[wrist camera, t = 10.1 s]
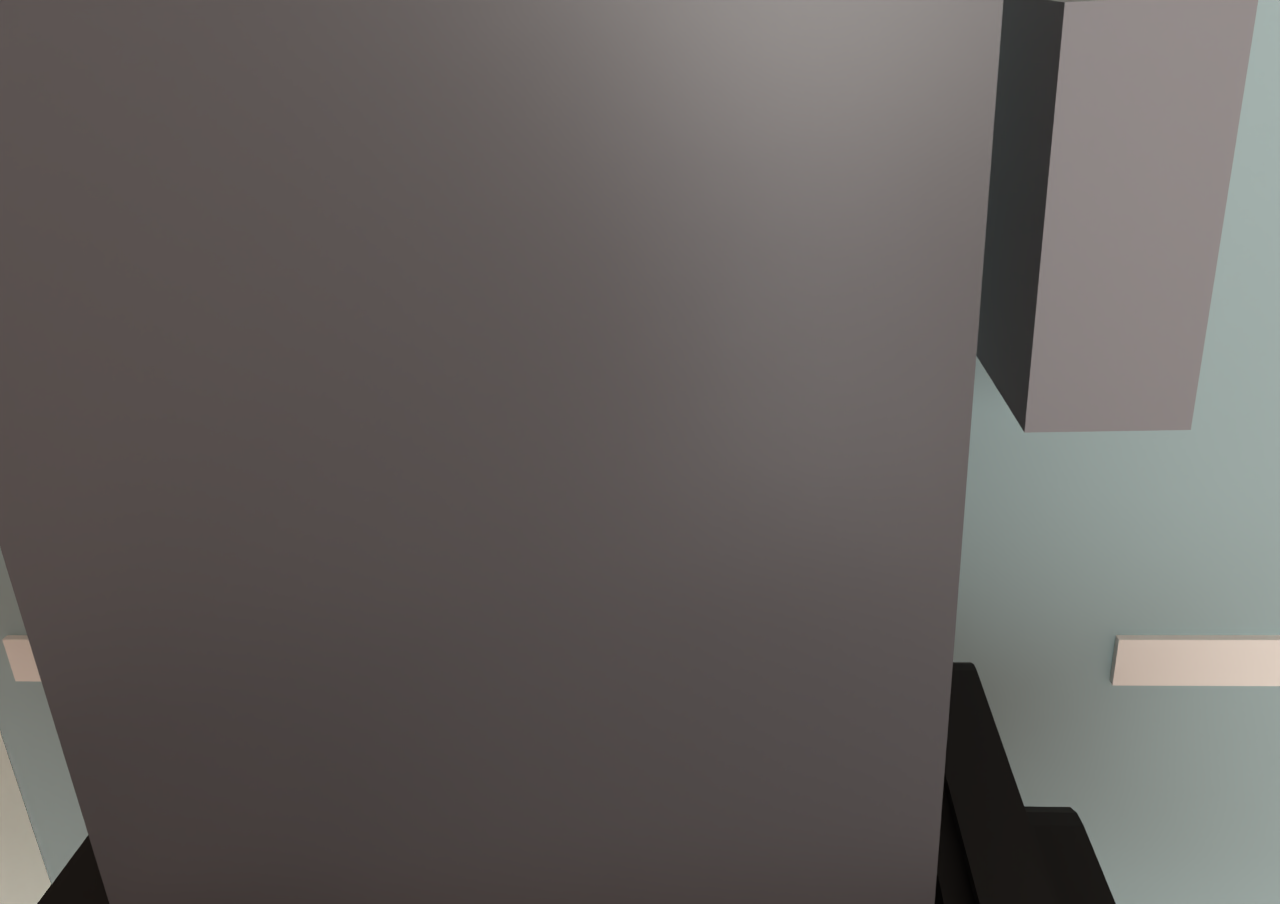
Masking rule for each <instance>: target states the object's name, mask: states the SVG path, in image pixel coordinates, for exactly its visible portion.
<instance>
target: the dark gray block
mask: <svg viewBox="0 0 1280 904" xmlns="http://www.w3.org/2000/svg"><path fill="white" fill-rule="evenodd" d="M1002 13H1003V0H0V548H1V551H2V555H3V558H4V561H5V564H6V568H7V571H8V574H9V578H10V581H11V584H12V587H13V591H14V594H15V597H16V600H17V604H18V607H19V610H20V613H21V617H22V620H23V623H24V626H25V630H26V633H27V636H28V640H29V643H30V646H31V649H32V653H33V656H34V659H35V662H36V666H37V669H38V672H39V675H40V679H41V682H42V685H43V688H44V692H45V695H46V698H47V702H48V705H49V708H50V711H51V715H52V718H53V721H54V724H55V728H56V731H57V734H58V737H59V741H60V744H61V747H62V750H63V754H64V757H65V760H66V764H67V767H68V770H69V773H70V777H71V780H72V783H73V786H74V790H75V793H76V796H77V799H78V803H79V806H80V809H81V812H82V816H83V819H84V822H85V826H86V829H87V832H88V835H89V839H90V842H91V845H92V848H93V852H94V855H95V858H96V861H97V865H98V868H99V871H100V874H101V878H102V881H103V884H104V888H105V891H106V894H107V897H108V901H109V904H935V891H936V878H937V865H938V852H939V838H940V825H941V812H942V799H943V786H944V773H945V760H946V747H947V734H948V720H949V707H950V694H951V681H952V668H953V655H954V642H955V629H956V616H957V602H958V589H959V576H960V563H961V550H962V537H963V524H964V511H965V498H966V484H967V471H968V458H969V445H970V432H971V419H972V406H973V393H974V380H975V367H976V353H977V340H978V327H979V314H980V301H981V288H982V275H983V262H984V249H985V235H986V222H987V209H988V196H989V183H990V170H991V157H992V144H993V131H994V117H995V104H996V91H997V78H998V65H999V52H1000V39H1001V26H1002Z"/></svg>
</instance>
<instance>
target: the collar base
mask: <svg viewBox="0 0 1280 904" xmlns="http://www.w3.org/2000/svg"><path fill="white" fill-rule="evenodd" d="M953 662H971V663H973V664H974V665H975V667H976V670H977V672H978V675H979V678H980V681H981V684H982V686H983V689H984V692H985V695H986V698H987V701H988V704H989V707H990V709H991V712H992V715H993V718H994V721H995V724H996V727H997V729H998V732H999V735H1000V738H1001V741H1002V744H1003V747H1004V750H1005V752H1006V755H1007V758H1008V761H1009V764H1010V767H1011V770H1012V773H1013V775H1014V778H1015V781H1016V784H1017V787H1018V790H1019V793H1020V795H1021V798H1022V801H1023V804H1024V806H1035V807H1071V808H1072V809H1073V810H1074V811H1076V812H1077V814H1078V816H1079V817H1080V819H1081V821H1082V823H1083V825H1084V827H1085V830H1086V832H1087V835H1088V837H1089V840H1090V842H1091V844H1092V847H1093V849H1094V852H1095V854H1096V857H1097V859H1098V861H1099V864H1100V866H1101V869H1102V871H1103V874H1104V876H1105V879H1106V881H1107V883H1108V886H1109V888H1110V891H1111V893H1112V896H1113V898H1114V901H1115V903H1116V904H1280V0H1003V13H1002V26H1001V39H1000V52H999V65H998V78H997V91H996V104H995V117H994V131H993V144H992V157H991V170H990V183H989V196H988V209H987V222H986V235H985V249H984V262H983V275H982V288H981V301H980V314H979V327H978V340H977V353H976V367H975V380H974V393H973V406H972V419H971V432H970V445H969V458H968V471H967V484H966V498H965V511H964V524H963V537H962V550H961V563H960V576H959V589H958V602H957V616H956V629H955V642H954V655H953ZM0 732H1V735H2V738H3V741H4V744H5V747H6V750H7V753H8V756H9V759H10V762H11V765H12V768H13V771H14V774H15V777H16V780H17V783H18V786H19V789H20V792H21V795H22V798H23V801H24V804H25V807H26V810H27V813H28V816H29V819H30V822H31V825H32V828H33V831H34V834H35V837H36V840H37V843H38V846H39V849H40V852H41V855H42V858H43V861H44V864H45V867H46V870H47V873H48V876H49V879H50V882H51V885H52V883H53V882H54V881H55V879H56V878H57V877H58V875H59V874H60V872H61V871H62V870H63V868H64V867H65V866H66V864H67V863H68V862H69V860H70V859H71V858H72V856H73V855H74V853H75V852H76V851H77V849H78V848H79V847H80V845H81V844H82V843H83V841H84V840H85V839H86V837H87V836H88V832H87V829H86V826H85V822H84V819H83V816H82V812H81V809H80V806H79V803H78V799H77V796H76V793H75V790H74V786H73V783H72V780H71V777H70V773H69V770H68V767H67V764H66V760H65V757H64V754H63V750H62V747H61V744H60V741H59V737H58V734H57V731H56V728H55V724H54V721H53V718H52V715H51V711H50V708H49V705H48V702H47V698H46V695H45V692H44V688H43V685H42V682H41V679H40V675H39V672H38V669H37V666H36V662H35V659H34V656H33V653H32V649H31V646H30V643H29V640H28V636H27V633H26V630H25V626H24V623H23V620H22V617H21V613H20V610H19V607H18V604H17V600H16V597H15V594H14V591H13V587H12V584H11V581H10V578H9V574H8V571H7V568H6V564H5V561H4V558H3V555H2V551H1V548H0Z"/></svg>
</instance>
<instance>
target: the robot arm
mask: <svg viewBox="0 0 1280 904" xmlns="http://www.w3.org/2000/svg"><path fill="white" fill-rule="evenodd" d="M38 904H109V901H108V897H107V894H106V891H105V888H104V884H103V881H102V878H101V874H100V871H99V868H98V865H97V861H96V858H95V855H94V852H93V848H92V845H91V842H90V839H89V835H88V836H87V837H86V839H85V840H84V841H83V843H82V844H81V845H80V847H79V848H78V849H77V851H76V852H75V853H74V855H73V856H72V858H71V859H70V860H69V862H68V863H67V864H66V866H65V867H64V868H63V870H62V871H61V872H60V874H59V875H58V877H57V878H56V879H55V881H54V882H53V883H52V885H51V886H50V887H49V889H48V890H47V891H46V893H45V894H44V895H43V897H42V898H41V900H40V901H39V902H38ZM935 904H1116V903H1115V901H1114V898H1113V896H1112V893H1111V891H1110V888H1109V886H1108V883H1107V881H1106V879H1105V876H1104V874H1103V871H1102V869H1101V866H1100V864H1099V861H1098V859H1097V857H1096V854H1095V852H1094V849H1093V847H1092V844H1091V842H1090V840H1089V837H1088V835H1087V832H1086V830H1085V827H1084V825H1083V823H1082V821H1081V819H1080V817H1079V816H1078V814H1077V812H1076V811H1074V810H1073V809H1072V808H1071V807H1035V806H1024V804H1023V801H1022V798H1021V795H1020V793H1019V790H1018V787H1017V784H1016V781H1015V778H1014V775H1013V773H1012V770H1011V767H1010V764H1009V761H1008V758H1007V755H1006V752H1005V750H1004V747H1003V744H1002V741H1001V738H1000V735H999V732H998V729H997V727H996V724H995V721H994V718H993V715H992V712H991V709H990V707H989V704H988V701H987V698H986V695H985V692H984V689H983V686H982V684H981V681H980V678H979V675H978V672H977V670H976V667H975V665H974V664H973V663H971V662H953V668H952V681H951V694H950V707H949V720H948V734H947V747H946V760H945V773H944V786H943V799H942V812H941V825H940V838H939V852H938V865H937V878H936V891H935Z"/></svg>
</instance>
